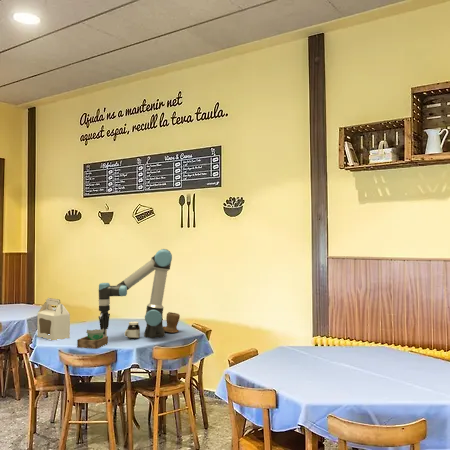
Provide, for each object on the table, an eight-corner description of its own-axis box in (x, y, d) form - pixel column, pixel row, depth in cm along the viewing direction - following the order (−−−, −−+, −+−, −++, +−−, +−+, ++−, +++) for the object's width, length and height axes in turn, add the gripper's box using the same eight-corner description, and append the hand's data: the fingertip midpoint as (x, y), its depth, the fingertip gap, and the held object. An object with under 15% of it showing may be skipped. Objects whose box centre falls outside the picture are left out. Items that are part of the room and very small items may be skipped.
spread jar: (136, 340, 354) (136, 323, 354) (121, 339, 356) (121, 323, 356) (142, 336, 366) (142, 320, 366) (127, 336, 368) (127, 320, 368)
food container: (89, 346, 336) (89, 331, 336) (86, 344, 341) (86, 329, 341) (107, 343, 343) (107, 329, 343) (103, 342, 348) (103, 327, 348)
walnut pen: (107, 343, 343) (107, 336, 343) (96, 348, 328) (96, 341, 328) (89, 342, 346) (89, 335, 347) (77, 347, 332) (77, 339, 332)
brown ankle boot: (182, 332, 382) (182, 312, 382) (170, 334, 374) (170, 314, 374) (170, 329, 393) (170, 310, 393) (158, 331, 385) (158, 312, 385)
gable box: (37, 336, 365) (37, 298, 366) (53, 333, 375) (53, 296, 376) (53, 341, 351) (53, 301, 351) (70, 338, 361) (70, 299, 361)
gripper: (103, 303, 359) (103, 336, 359) (94, 306, 347) (95, 340, 346) (113, 303, 358) (113, 336, 357) (104, 306, 345) (105, 340, 345)
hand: (104, 338), depth 352 cm, fingers closed
